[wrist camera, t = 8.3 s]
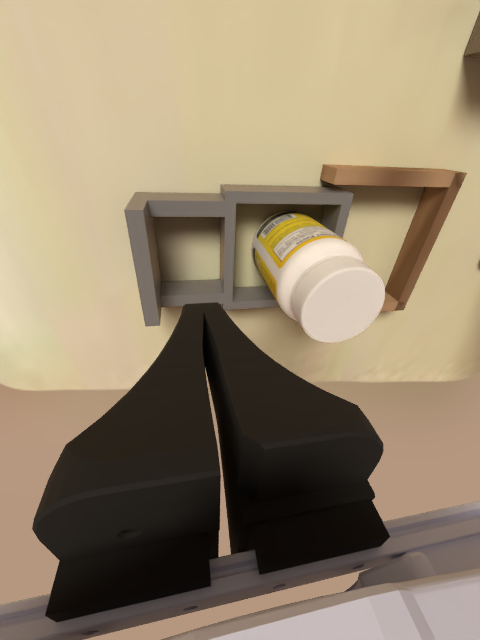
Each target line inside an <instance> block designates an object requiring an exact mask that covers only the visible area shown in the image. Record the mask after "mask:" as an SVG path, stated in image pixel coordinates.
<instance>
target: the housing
mask: <svg viewBox="0 0 480 640" xmlns="http://www.w3.org/2000/svg"><path fill="white" fill-rule="evenodd" d="M466 174H467V173H463V172H457V171H451V170H445V169H424V168H398V167H373V166H348V165H323V168H322V173H321V178H320V179H321V180H323V181H326V182H328V183H331V184H335V185H374V186H414V187H426V188H425V191H424V193H423V196H422V198H421V201H420V203H419V206H418V208H417V211H416V213H415V216H414V218H413V221H412V223H411V226H410V228H409V231H408V233H407V236H406V238H405V241H404V243H403V246H402V248H401V251H400V253H399V256H398V259H397V261H396V264H395V266H394V269H393V271H392V274H391V276H390V279H389V281H388V284H387V286H386V289H385V299H384V304H383V306H382V309H381V311H396V310H404V308H405V306H406V303H407V301H408V299H409V297H410V295H411V293H412V291H413V288H414V286H415V284H416V282H417V280H418V278H419V275H420V273H421V271H422V269H423V267H424V265H425V262H426V260H427V258H428V256H429V254H430V252H431V250H432V247H433V245H434V243H435V241H436V239H437V237H438V234H439V232H440V230H441V228H442V226H443V224H444V222H445V219H446V217H447V215H448V213H449V211H450V209H451V206H452V204H453V202H454V200H455V198H456V196H457V193H458V191H459V189H460V187H461V185H462V183H463V181H464V178H465V176H466ZM381 311H380V312H381Z"/></svg>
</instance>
